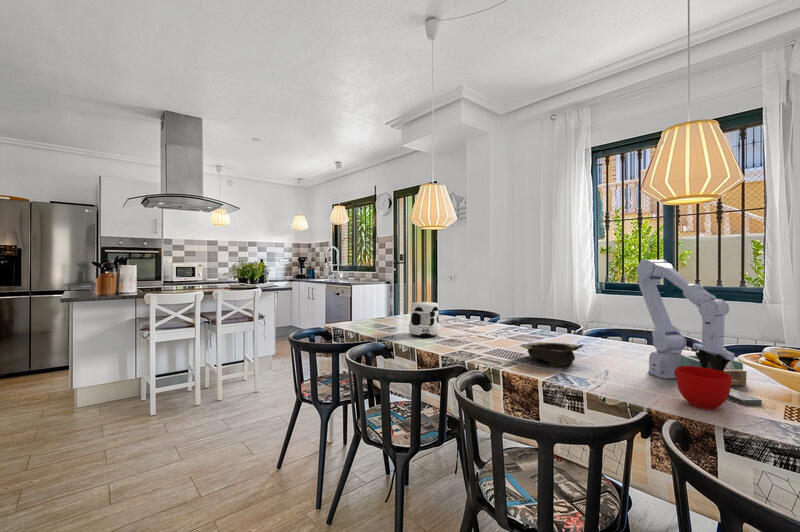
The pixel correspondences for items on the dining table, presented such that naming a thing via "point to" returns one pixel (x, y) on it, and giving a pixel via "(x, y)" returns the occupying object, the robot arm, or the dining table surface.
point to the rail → (743, 398)
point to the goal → (694, 361)
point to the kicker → (734, 375)
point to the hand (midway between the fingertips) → (712, 375)
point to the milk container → (424, 319)
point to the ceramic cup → (703, 386)
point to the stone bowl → (553, 352)
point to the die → (729, 366)
